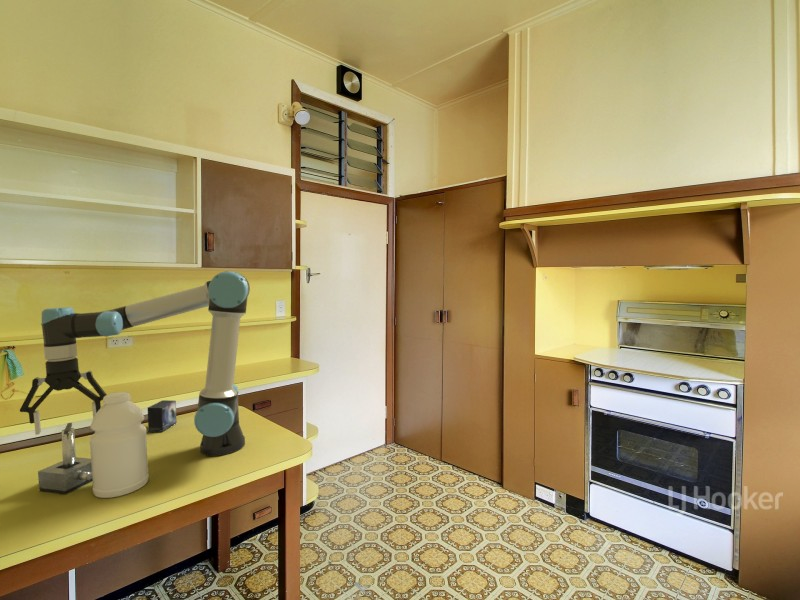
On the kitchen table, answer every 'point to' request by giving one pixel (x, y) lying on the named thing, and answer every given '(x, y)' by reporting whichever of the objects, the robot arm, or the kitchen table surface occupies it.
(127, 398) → the bottle
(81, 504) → the kitchen table surface
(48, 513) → the kitchen table surface
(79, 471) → the block
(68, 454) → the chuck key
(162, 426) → the small box
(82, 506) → the kitchen table surface
